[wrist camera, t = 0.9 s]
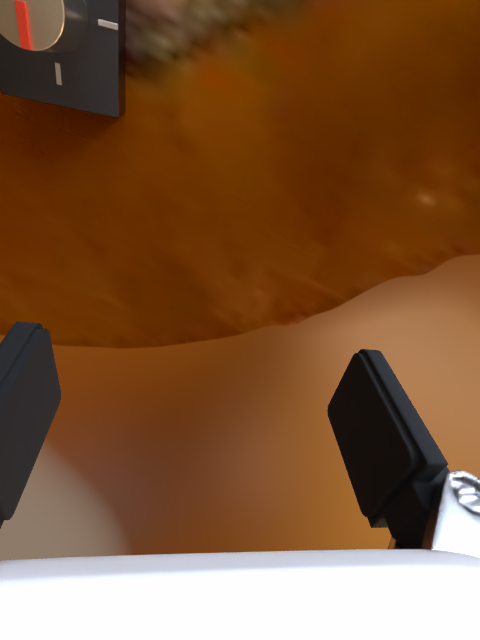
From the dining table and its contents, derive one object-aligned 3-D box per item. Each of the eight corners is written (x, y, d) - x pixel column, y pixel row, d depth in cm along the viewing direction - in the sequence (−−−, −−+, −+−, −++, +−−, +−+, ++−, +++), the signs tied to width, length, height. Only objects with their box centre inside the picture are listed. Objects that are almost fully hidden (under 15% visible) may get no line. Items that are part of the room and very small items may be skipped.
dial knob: (10, -47, 23) (-38, -73, 18) (86, -26, 24) (58, -46, 19) (22, 43, 26) (-17, 40, 21) (90, 59, 27) (66, 59, 22)
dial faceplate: (-15, -121, 23) (-41, -143, 21) (126, -78, 25) (117, -93, 22) (17, 90, 30) (0, 93, 27) (125, 113, 32) (118, 118, 29)
